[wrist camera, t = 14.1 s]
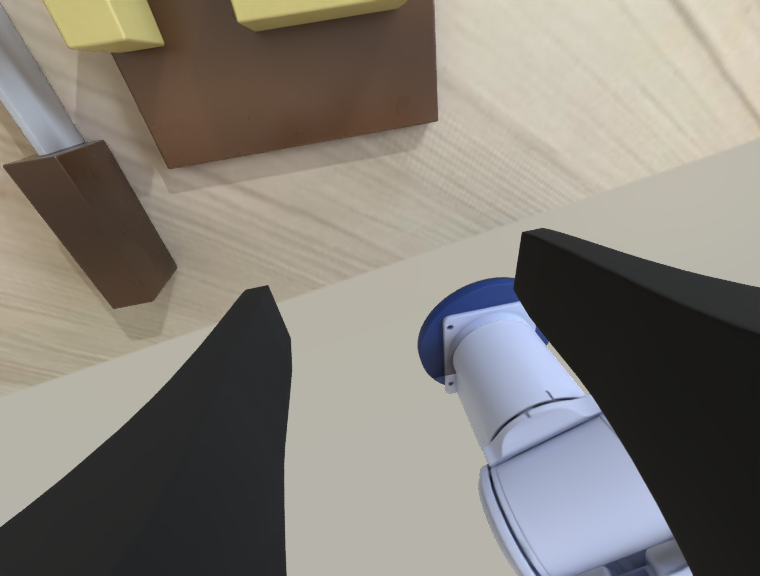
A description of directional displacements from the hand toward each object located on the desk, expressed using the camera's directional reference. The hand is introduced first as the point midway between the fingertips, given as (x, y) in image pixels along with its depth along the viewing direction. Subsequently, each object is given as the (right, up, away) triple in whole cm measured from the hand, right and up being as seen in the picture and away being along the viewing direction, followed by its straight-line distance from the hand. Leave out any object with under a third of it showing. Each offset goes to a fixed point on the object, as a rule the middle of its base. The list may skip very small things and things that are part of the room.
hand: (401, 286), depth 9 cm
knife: (-14, +7, +6) cm, 17 cm away
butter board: (-5, +11, +4) cm, 13 cm away
